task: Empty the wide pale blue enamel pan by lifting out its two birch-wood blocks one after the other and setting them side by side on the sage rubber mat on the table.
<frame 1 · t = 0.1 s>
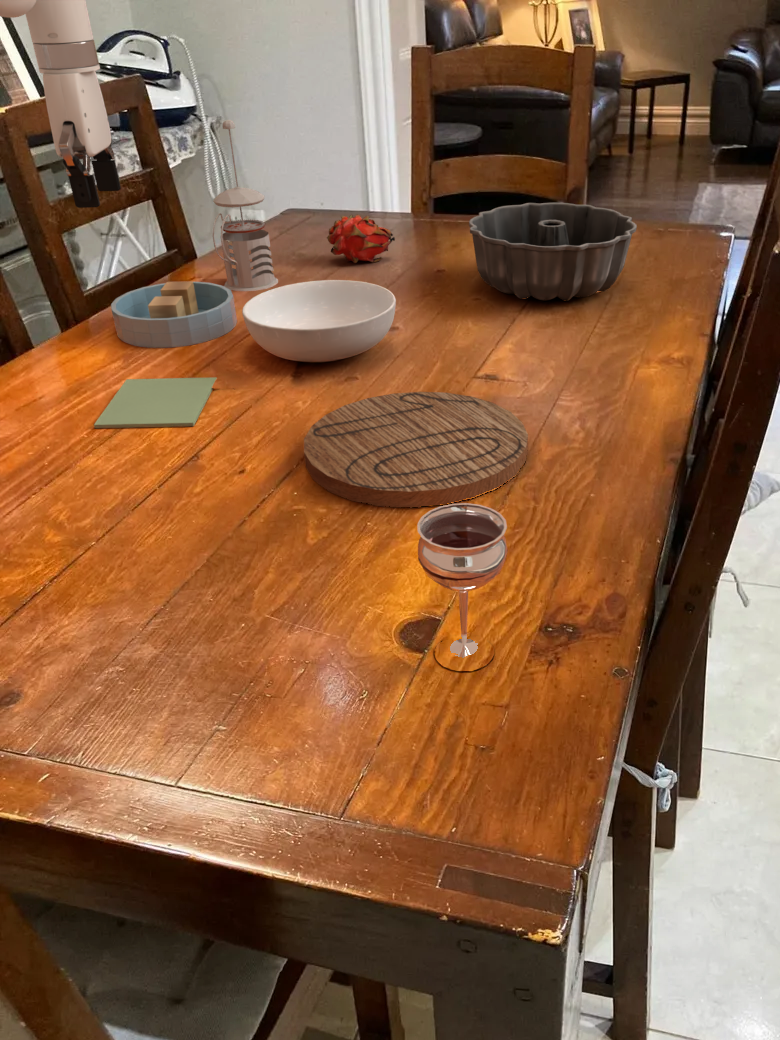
hand: (99, 198, 131), 18 cm above the table, tool pointing down, fingers open, 9 cm apart
trivet: (416, 453, 105), on the table
block front: (172, 334, 137), resting on pan
mat: (159, 403, 118), on the table
block back: (183, 318, 142), resting on pan
dragon fruit: (362, 261, 167), on the table
wineglass: (464, 654, 76), on the table
bundt pan: (549, 287, 153), on the table
french press: (248, 288, 156), on the table
pan: (178, 329, 140), on the table
serving bowl: (324, 352, 131), on the table
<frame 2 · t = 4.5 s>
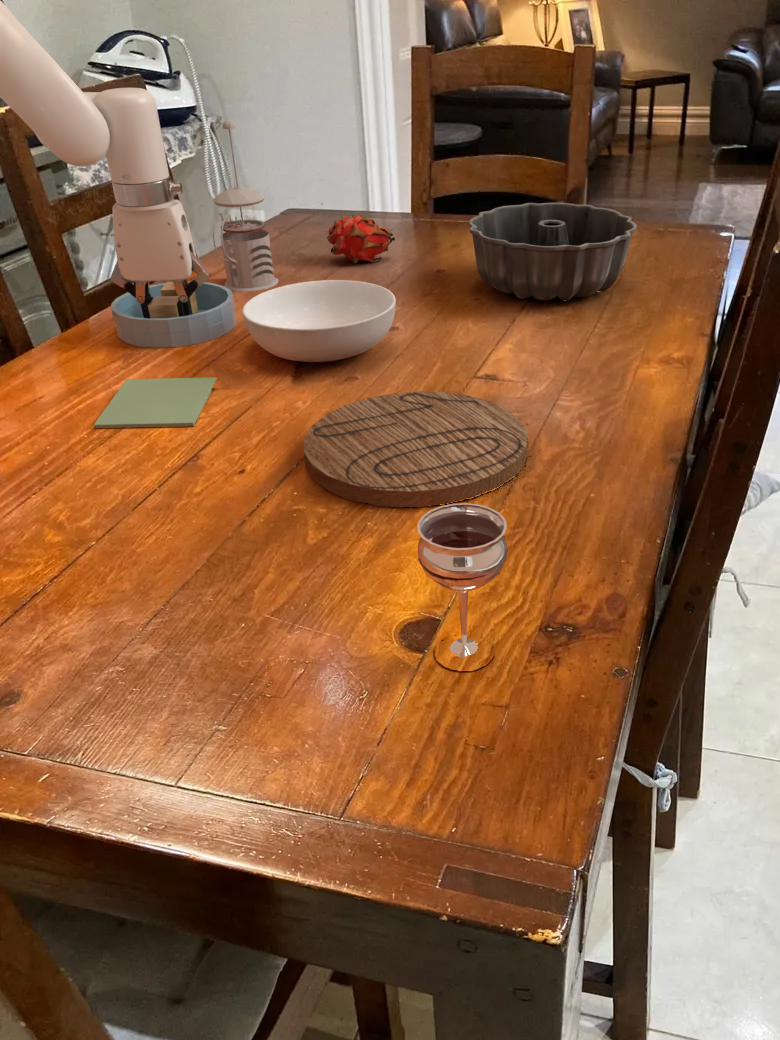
hand: (170, 325, 136), 2 cm above the table, tool pointing down, fingers closed on block front, 4 cm apart
block front: (172, 334, 137), point 1 cm above the table, touching gripper, pan
everything else where it was.
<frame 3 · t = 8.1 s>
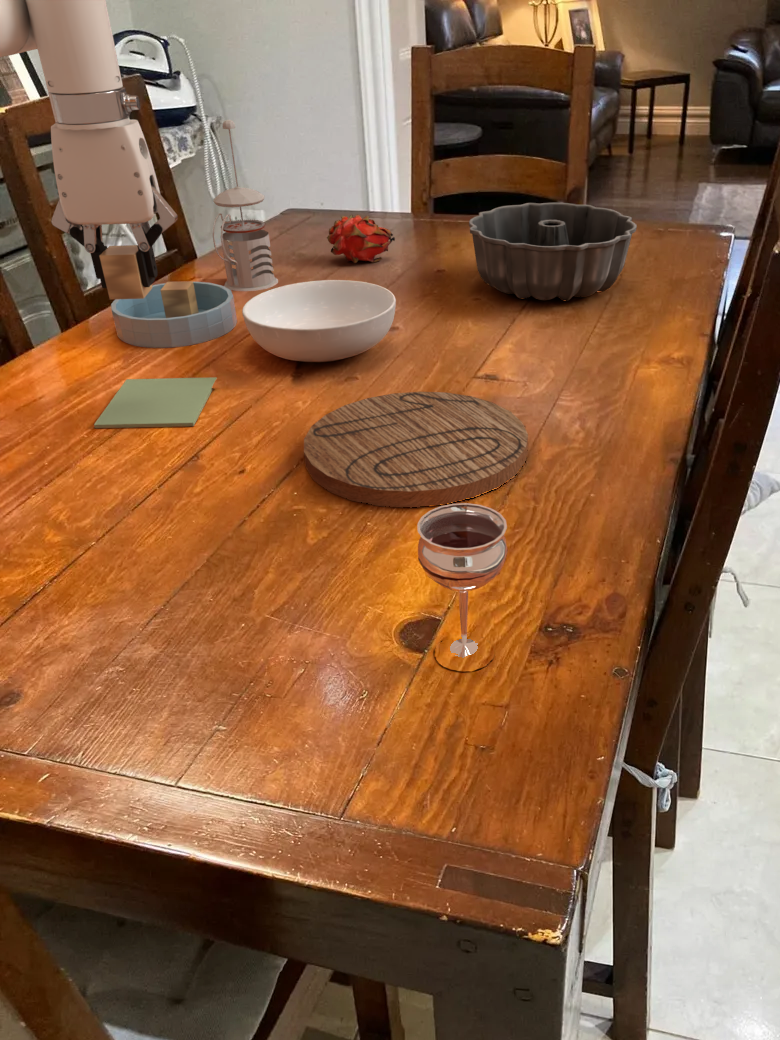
hand: (128, 282, 109), 15 cm above the table, tool pointing down, fingers closed on block front, 4 cm apart
block front: (131, 293, 110), point 14 cm above the table, touching gripper
everything else where it was.
when the fingers open (2 cm above the table, at t = 11.7 s): block front stays where it is, resting on mat.
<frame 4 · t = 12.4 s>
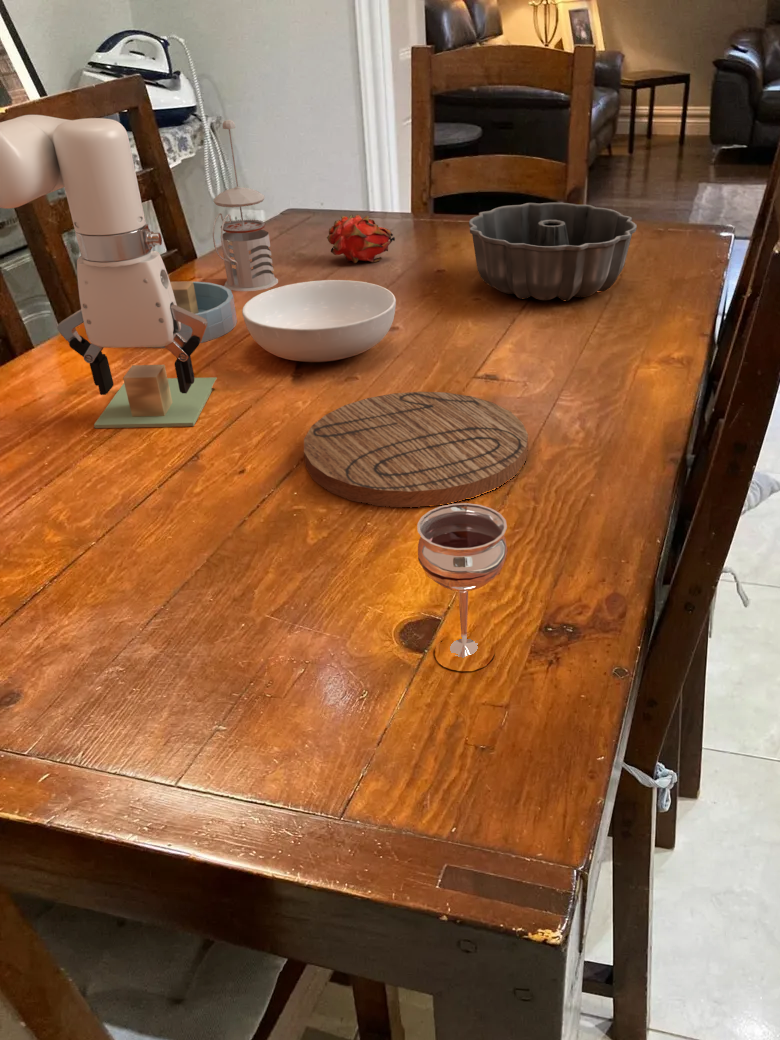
hand: (146, 389, 114), 3 cm above the table, tool pointing down, fingers open, 9 cm apart
block front: (152, 409, 115), resting on mat
everything else where it was.
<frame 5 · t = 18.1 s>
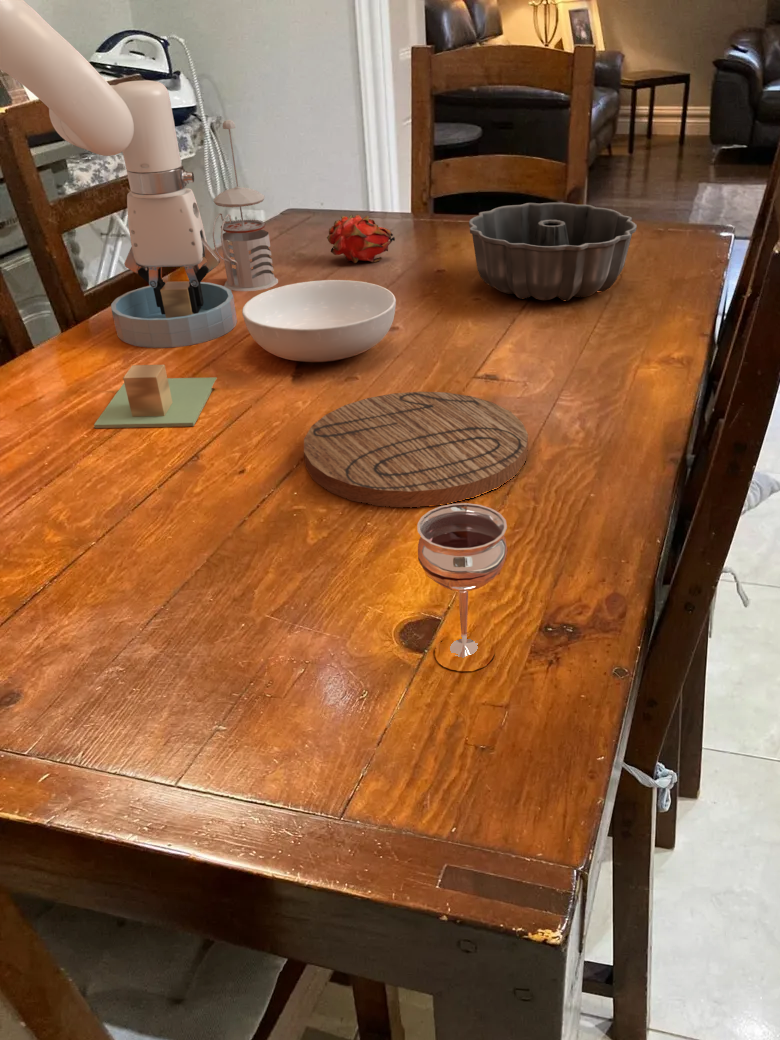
hand: (181, 309, 142), 2 cm above the table, tool pointing down, fingers closed on block back, 4 cm apart
block back: (183, 318, 142), point 1 cm above the table, touching gripper, pan
everything else where it was.
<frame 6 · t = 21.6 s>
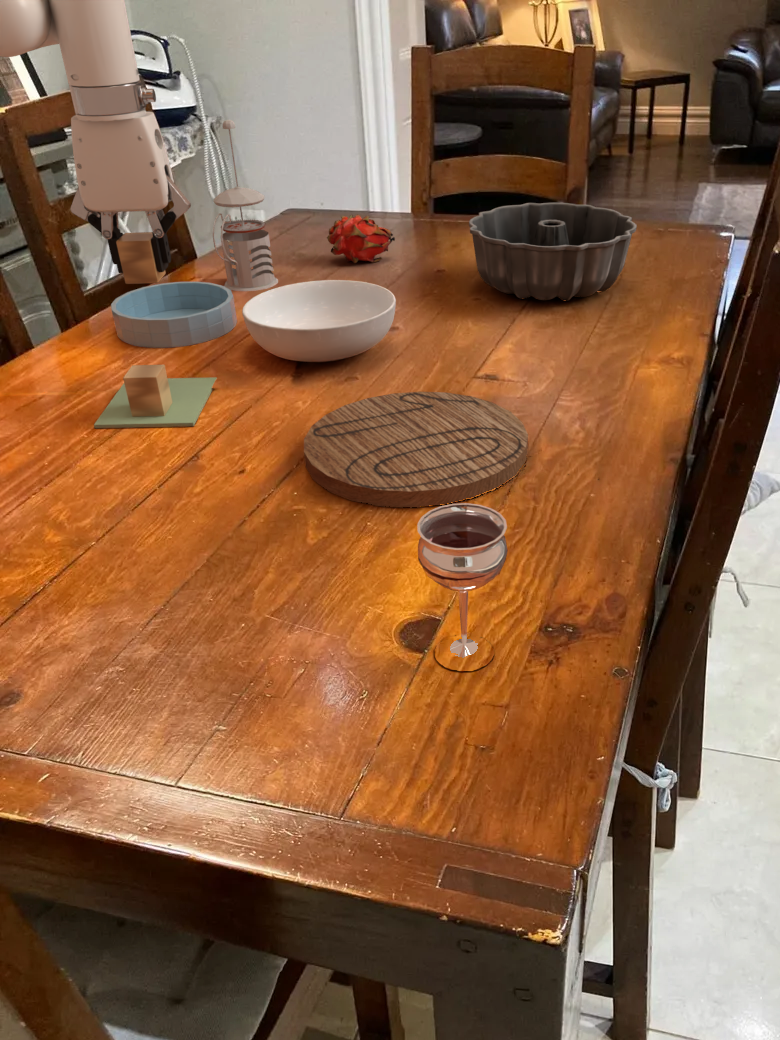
hand: (143, 267, 114), 15 cm above the table, tool pointing down, fingers closed on block back, 4 cm apart
block back: (146, 278, 115), point 14 cm above the table, touching gripper
everything else where it was.
when the fingers open (2 cm above the table, at t = 25.1 s): block back stays where it is, resting on mat.
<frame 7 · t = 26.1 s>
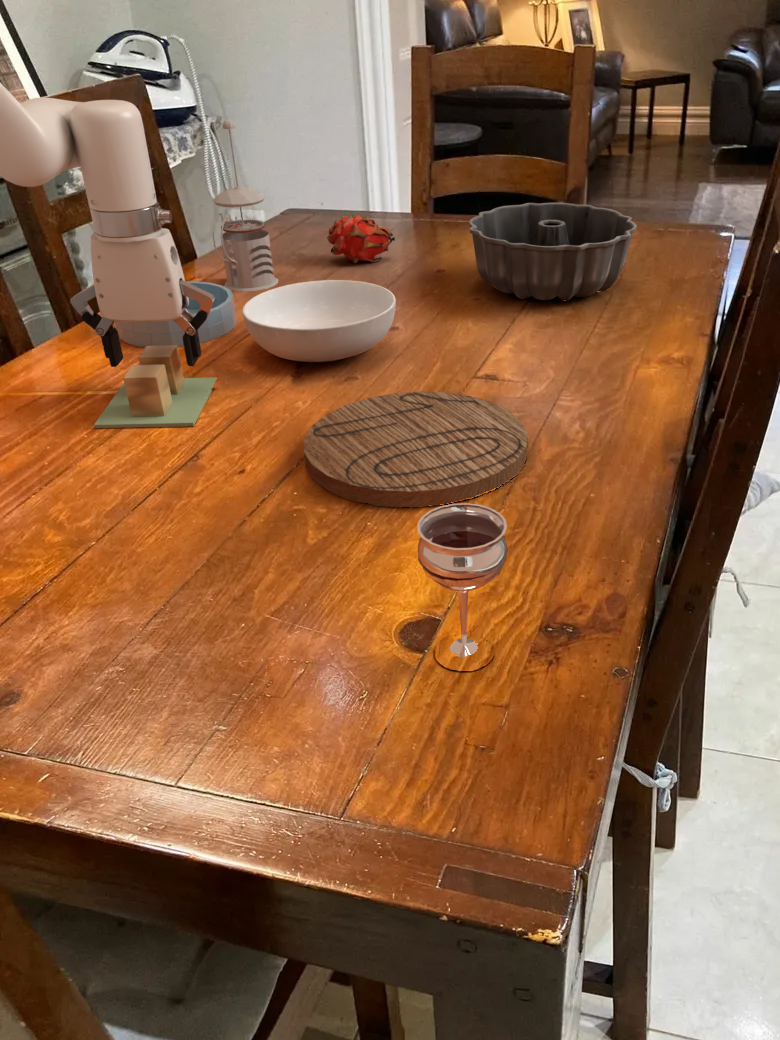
hand: (155, 362, 118), 4 cm above the table, tool pointing down, fingers open, 9 cm apart
block back: (165, 388, 120), resting on mat
everything else where it was.
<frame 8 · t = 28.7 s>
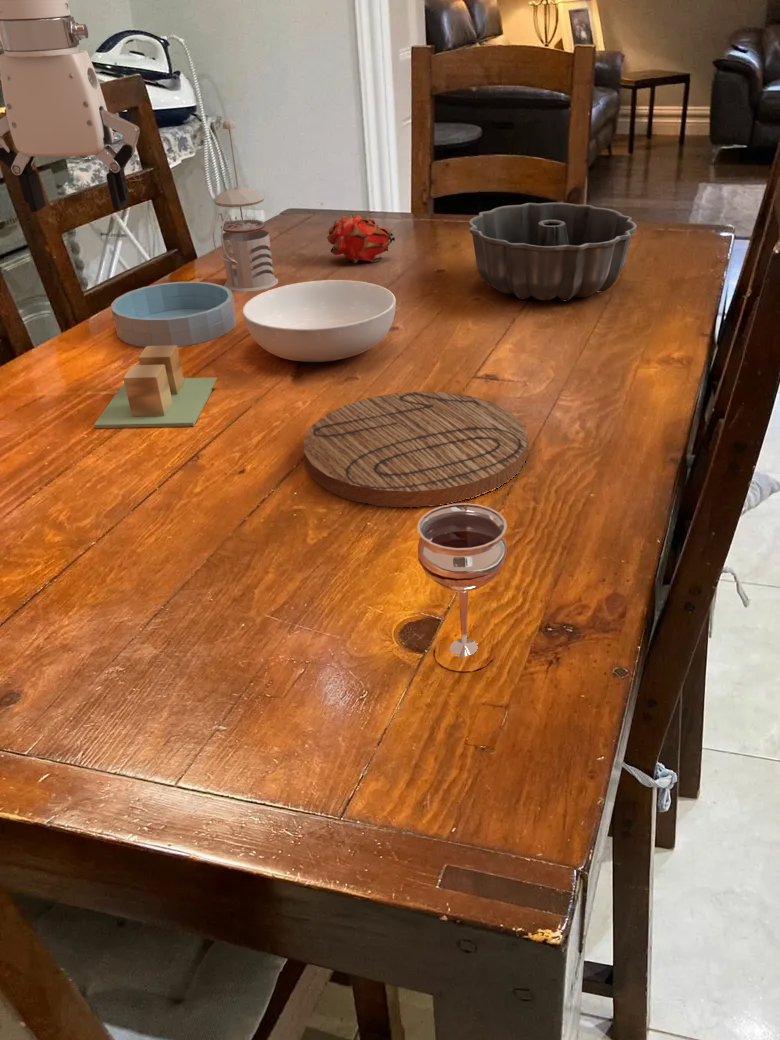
hand: (79, 208, 109), 22 cm above the table, tool pointing down, fingers open, 9 cm apart
nothing on the table moved.
at the end: block front inside the target area on the mat (3.0 cm from its centre), point 0.5 cm above the mat's base; block back inside the target area on the mat (3.5 cm from its centre), point 0.5 cm above the mat's base; block back tilted 0° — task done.
